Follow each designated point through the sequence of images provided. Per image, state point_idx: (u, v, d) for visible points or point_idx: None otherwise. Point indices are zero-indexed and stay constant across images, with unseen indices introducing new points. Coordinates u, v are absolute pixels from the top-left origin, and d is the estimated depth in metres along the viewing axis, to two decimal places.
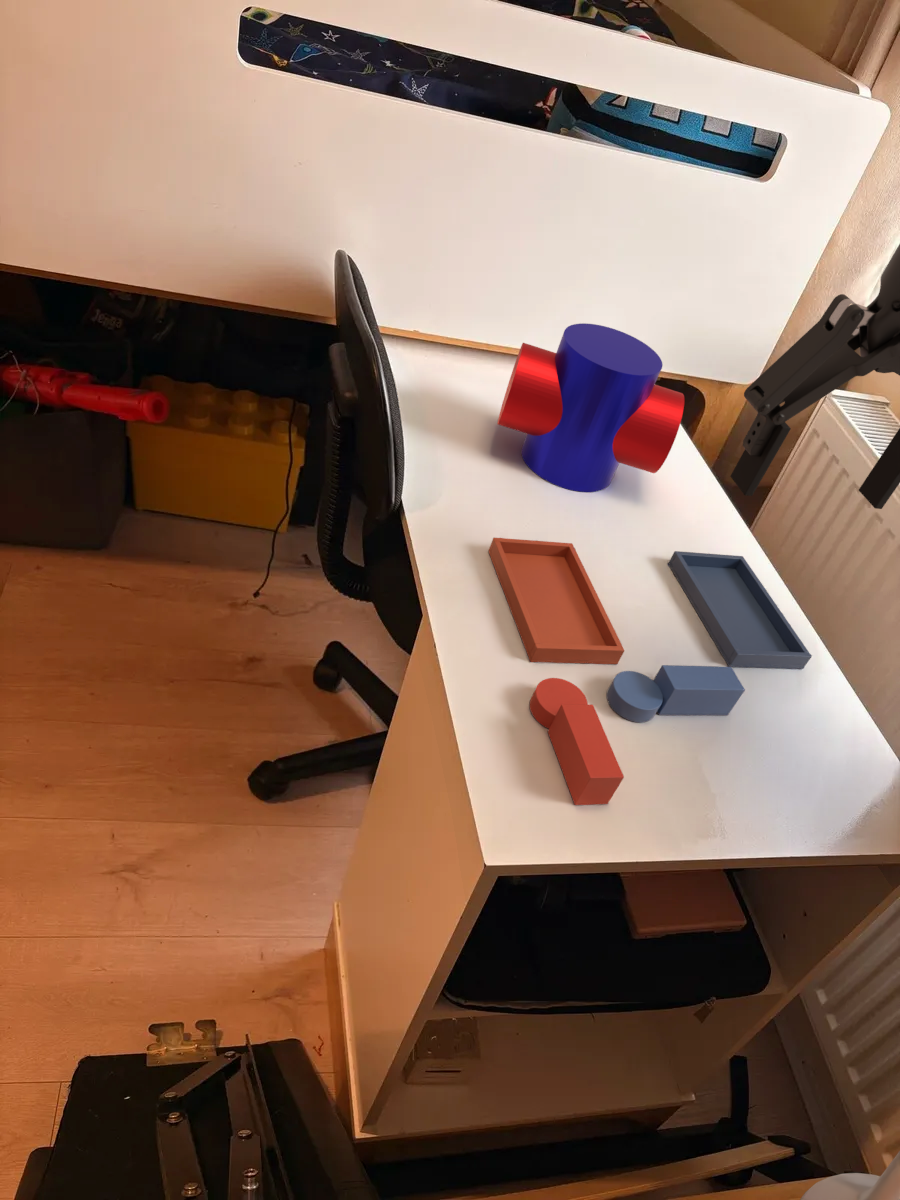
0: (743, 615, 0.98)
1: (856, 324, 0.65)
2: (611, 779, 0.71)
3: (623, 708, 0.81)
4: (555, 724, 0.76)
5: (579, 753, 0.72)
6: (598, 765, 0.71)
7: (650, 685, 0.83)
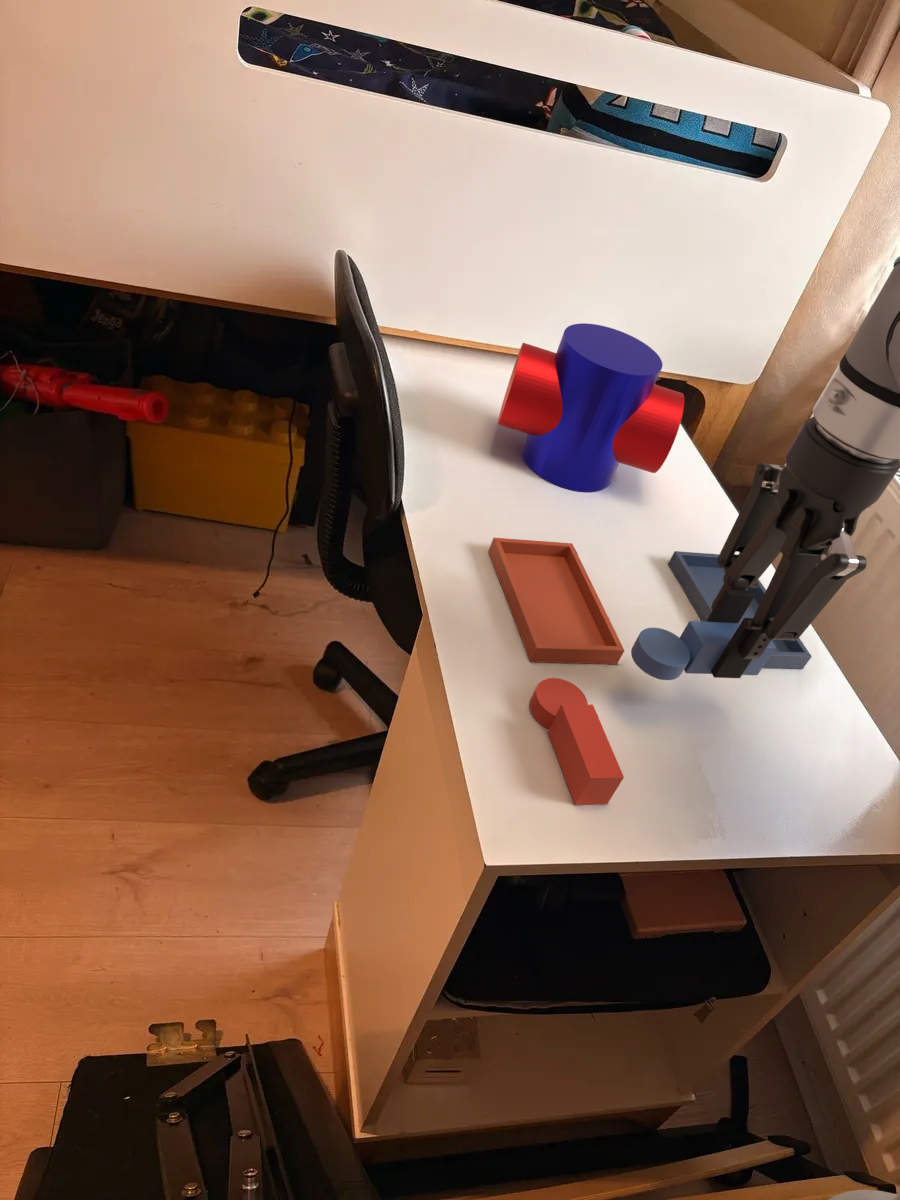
0: (743, 615, 0.98)
1: None
2: (611, 779, 0.71)
3: (649, 665, 0.77)
4: (555, 724, 0.76)
5: (579, 753, 0.72)
6: (598, 765, 0.71)
7: (677, 642, 0.79)
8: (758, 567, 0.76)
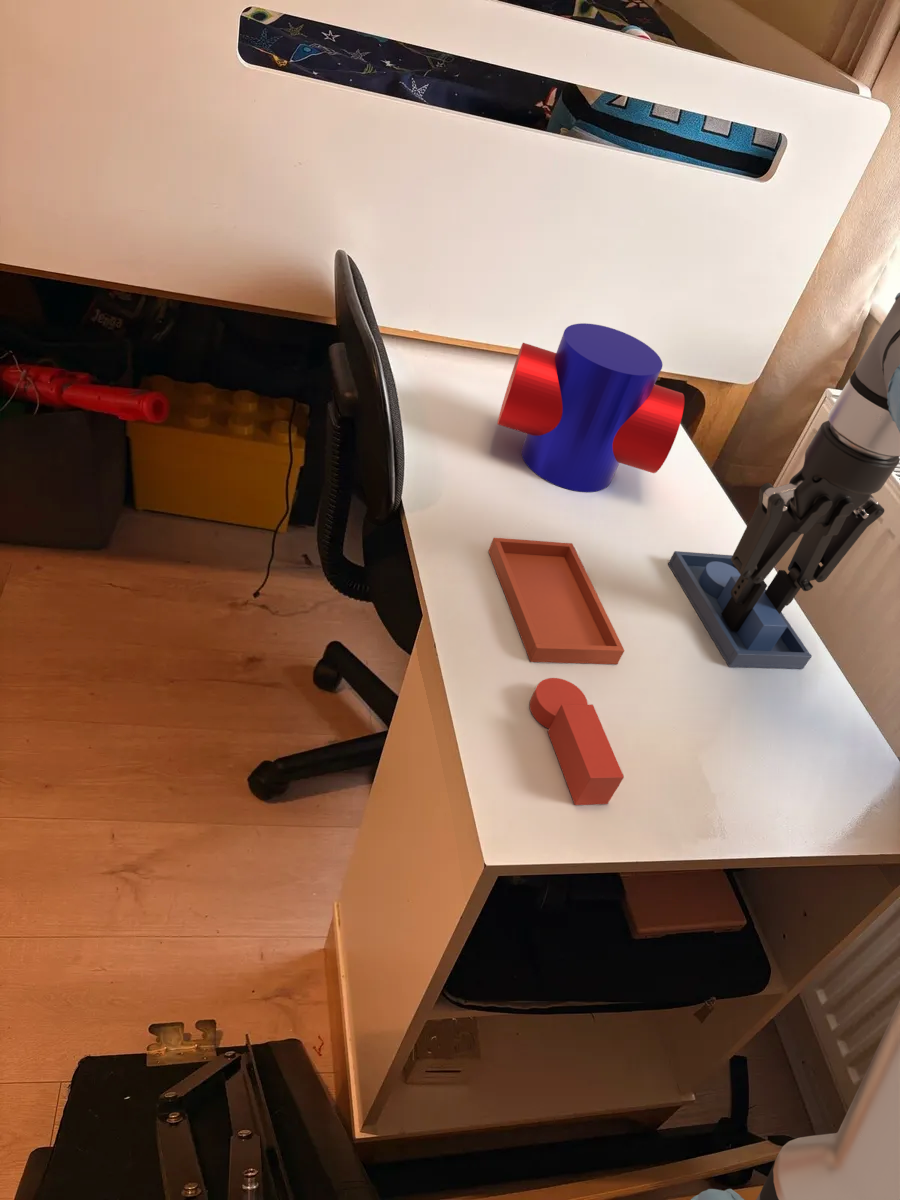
0: None
1: (781, 506, 0.83)
2: (611, 779, 0.71)
3: (704, 569, 1.01)
4: (555, 724, 0.76)
5: (579, 753, 0.72)
6: (598, 765, 0.71)
7: None
8: (803, 559, 0.91)
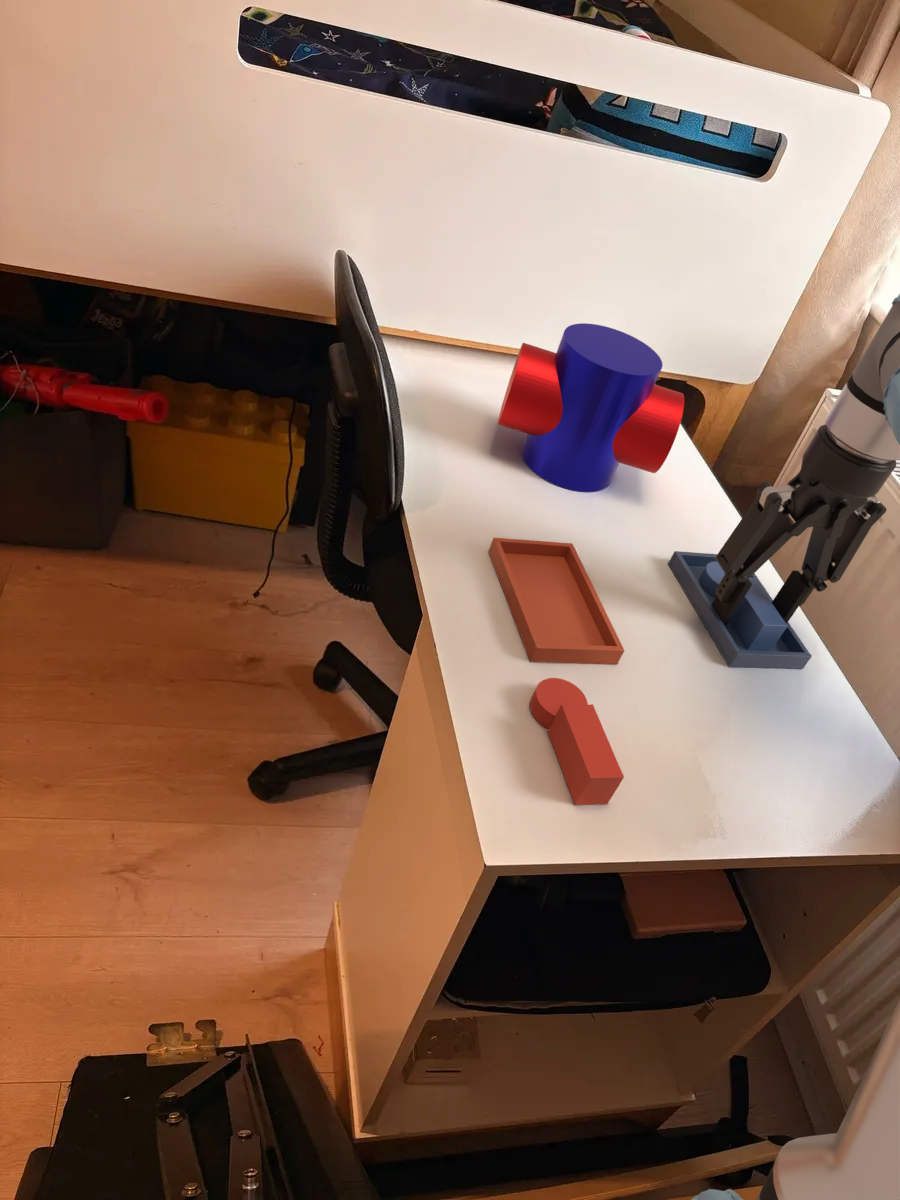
0: None
1: (778, 505, 0.83)
2: (611, 779, 0.71)
3: None
4: (555, 724, 0.76)
5: (579, 753, 0.72)
6: (598, 765, 0.71)
7: None
8: (813, 561, 0.91)
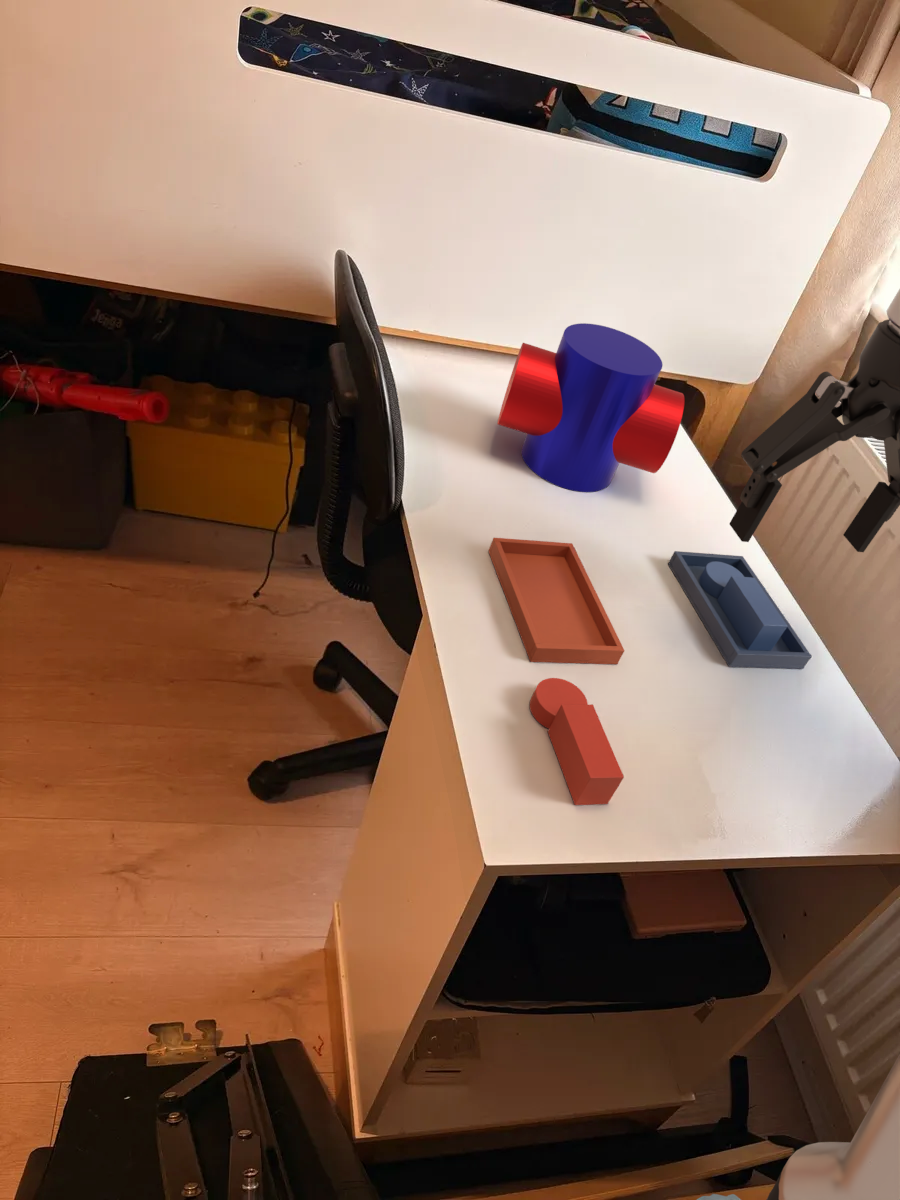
0: None
1: (838, 398, 0.75)
2: (611, 779, 0.71)
3: None
4: (555, 724, 0.76)
5: (579, 753, 0.72)
6: (598, 765, 0.71)
7: None
8: (895, 472, 0.83)
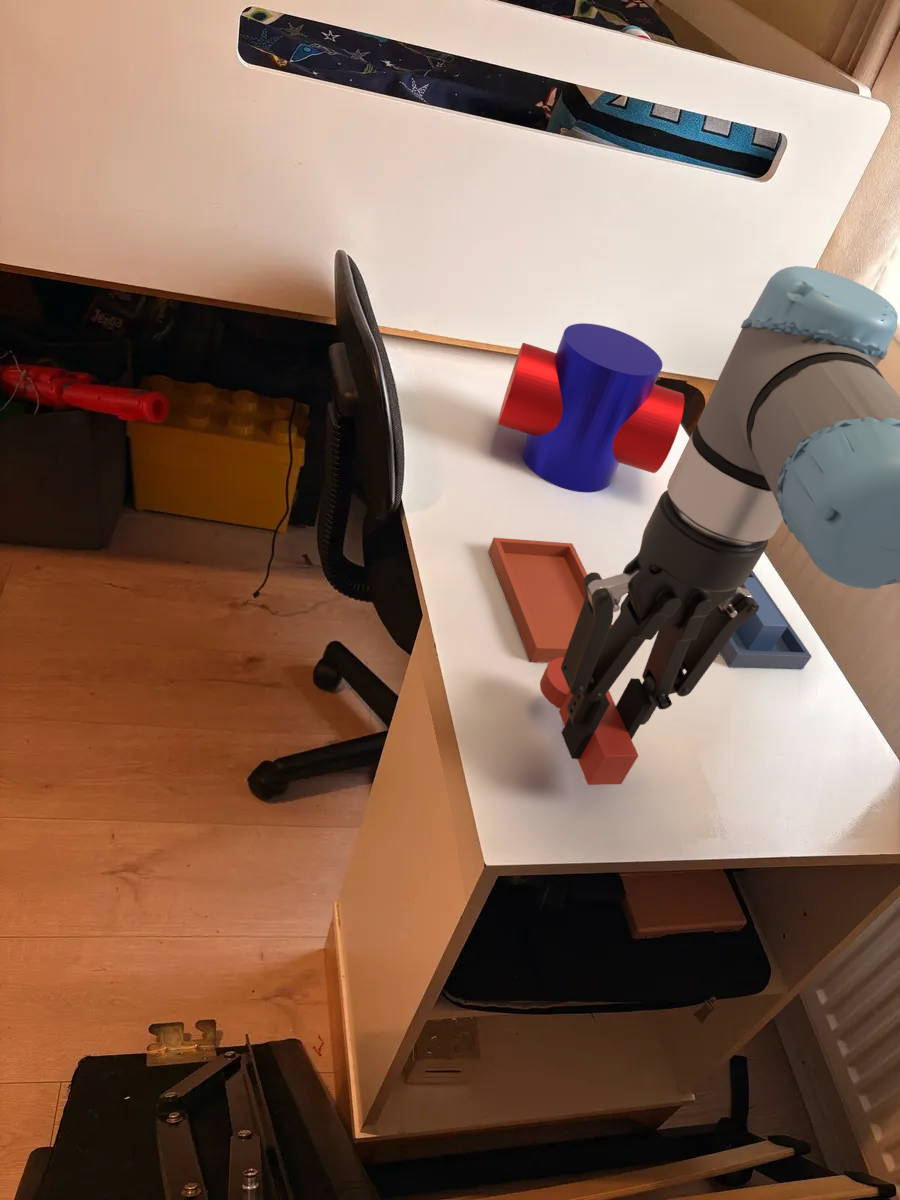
0: None
1: (610, 605, 0.60)
2: (625, 758, 0.69)
3: None
4: (567, 703, 0.74)
5: None
6: (611, 744, 0.69)
7: None
8: (657, 667, 0.68)
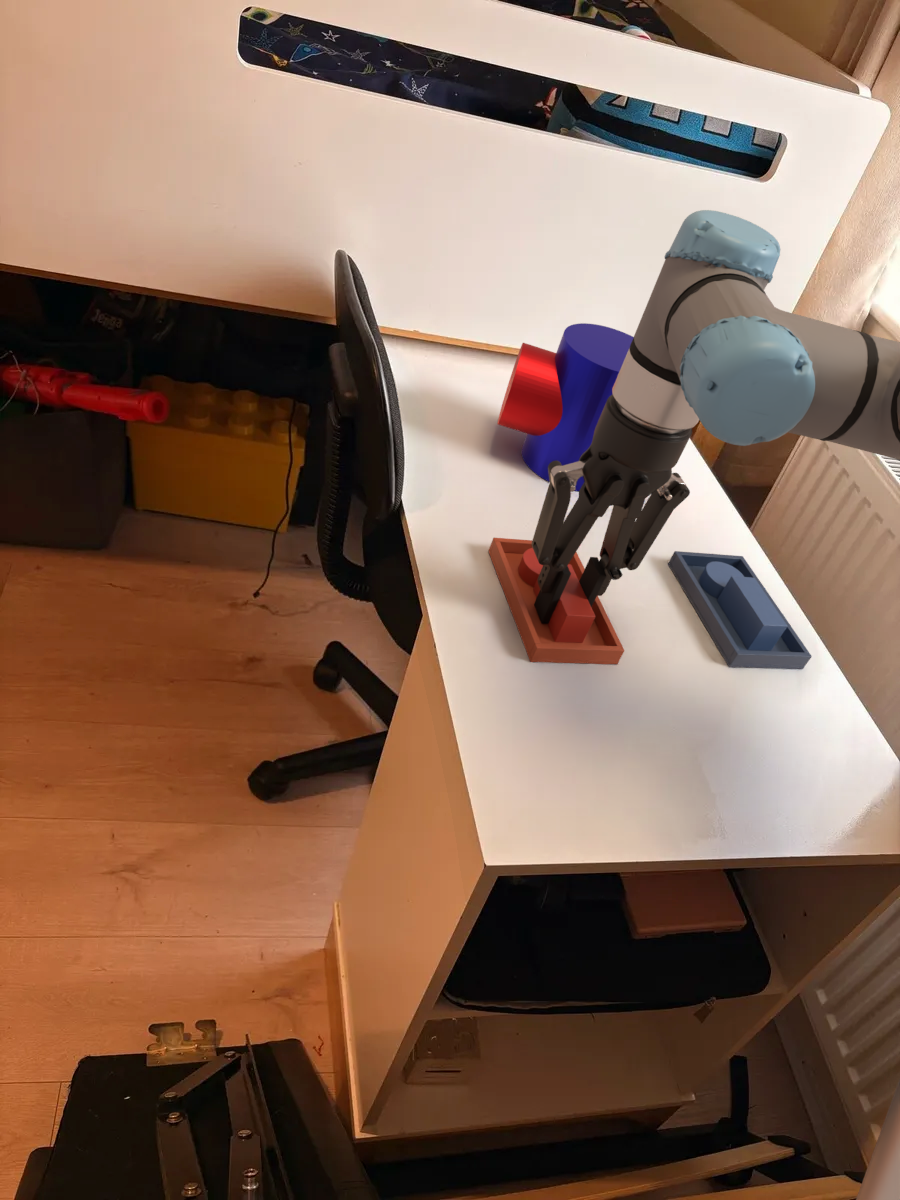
0: None
1: (568, 485, 0.76)
2: (585, 617, 0.85)
3: None
4: None
5: None
6: (573, 607, 0.85)
7: None
8: (610, 544, 0.83)
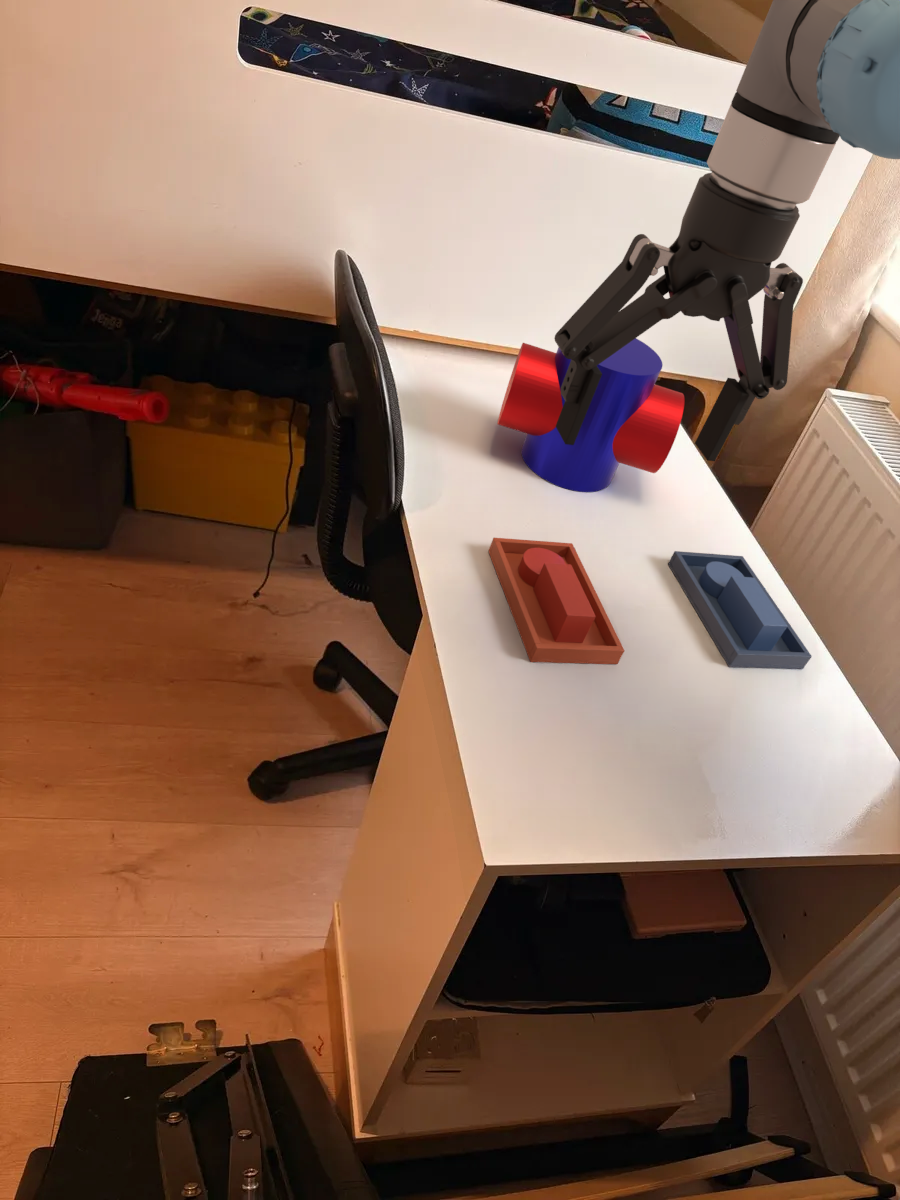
0: None
1: (653, 263, 0.64)
2: (585, 617, 0.85)
3: None
4: (539, 580, 0.90)
5: (558, 597, 0.86)
6: (573, 607, 0.85)
7: None
8: (740, 363, 0.73)
